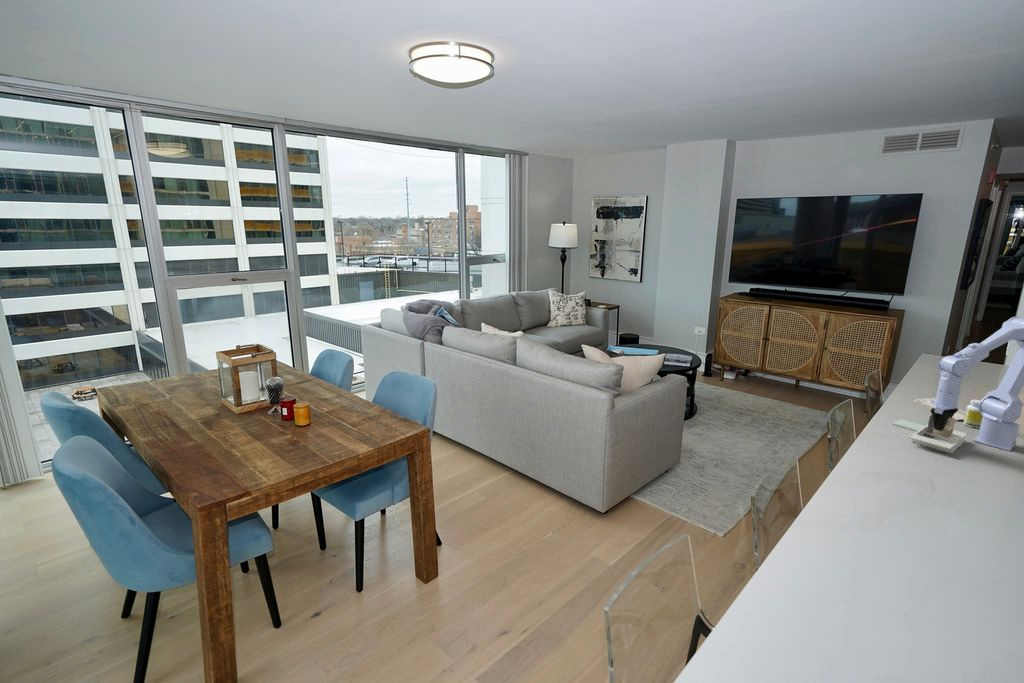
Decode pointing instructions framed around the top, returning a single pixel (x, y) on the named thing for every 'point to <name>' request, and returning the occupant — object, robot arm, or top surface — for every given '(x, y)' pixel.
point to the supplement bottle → (973, 414)
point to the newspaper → (927, 403)
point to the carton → (943, 446)
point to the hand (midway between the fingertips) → (940, 428)
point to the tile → (908, 425)
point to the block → (946, 431)
